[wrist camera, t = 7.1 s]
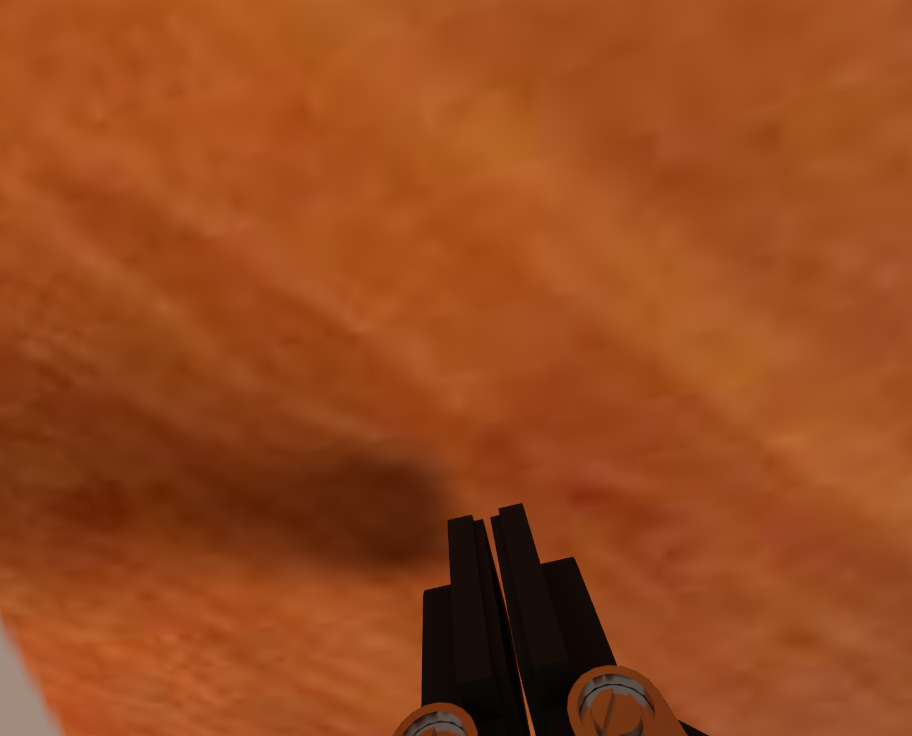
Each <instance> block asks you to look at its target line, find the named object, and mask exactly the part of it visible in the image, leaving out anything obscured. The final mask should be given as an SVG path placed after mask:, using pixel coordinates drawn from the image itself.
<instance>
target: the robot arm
mask: <svg viewBox="0 0 912 736" xmlns="http://www.w3.org/2000/svg"><path fill="white" fill-rule="evenodd" d="M498 509H499V514H500V515H498V516H494V517H490V519H491V524H492V529H493V535H494V540H495V546H496V551H497V556H498V562H499V567H500V572H501V578H502V583H503V589H504V594H505V599H506V605H507V610H508V615H509V619H508V615H507V611H506V607H505V603H504V599H503V595H502V591H501V587H500V583H499V580H498V576H497V572H496V568H495V564H494V560H493V556H492V552H491V549H490V545H489V541H488V537H487V533H486V529H485V525H484V522H483V519H481V520H477V521H474V520H473V516H472V515H468V516H463V517H459V518H455V519H450V520H448V542H449V561H450V579H451V584H450V585H446V586H442V587H437V588H433V589H428V590H425V591H424V594H423V638H422V702H421V708H419V709H417V710H416V711H414V712H412V713H411V714H410V715H409V716H408V717H407V718H406V719H404V720H403V721H402V722H401V724H400V725H399V727H398V728H397V730H396V731H395V733H394V734H393V736H530V730H529V725H528V719H527V714H526V709H525V703H524V698H523V692H522V687H521V682H520V676H521V680H522V684H523V688H524V692H525V696H526V700H527V704H528V707H529V711H530V715H531V719H532V723H533V727H534V730H535V734H536V736H708V735H706V734H705V733H703V732H701V731H699V730H697V729H695V728H693V727H691V726H689V725H687V724H685V723H683V722H681V721H680V720H678V719H677V718H676V717H675V715H674V714H673V712H672V710H671V709H670V707H669V706H668V704H667V703H666V701H665V700H664V698H663V697H662V695H661V693H660V692H659V690H658V689H657V688H656V687H655V686H654V685H653V684H652V682H651V681H650V680H649V679H648V678H646V677H645V676H643V675H642V674H640V673H639V672H637V671H635V670H632V669H629V668H626V667H623V666H617V664H616V661H615V659H614V656H613V654H612V651H611V649H610V646H609V644H608V641H607V639H606V636H605V634H604V631H603V629H602V626H601V624H600V621H599V618H598V616H597V613H596V611H595V608H594V606H593V603H592V601H591V598H590V596H589V593H588V591H587V588H586V586H585V583H584V581H583V578H582V575H581V573H580V570H579V568H578V565H577V563H576V561H575V559H574V557H570V558H565V559H561V560H556V561H552V562H548V563H543V564H540V561H539V557H538V554H537V551H536V547H535V544H534V540H533V537H532V534H531V530H530V527H529V524H528V520H527V517H526V514H525V510H524V507H523V504H522V503H520V504H516V505H511V506H507V507H503V508H498ZM509 621H510V623H509ZM510 626H511V628H510ZM511 631H512V633H511ZM512 637H513V639H512ZM513 642H514V644H513ZM514 648H515V649H514ZM515 653H516V655H515ZM516 658H517V660H516ZM517 663H518V666H517ZM518 667H519V671H518ZM519 672H520V676H519Z"/></svg>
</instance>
